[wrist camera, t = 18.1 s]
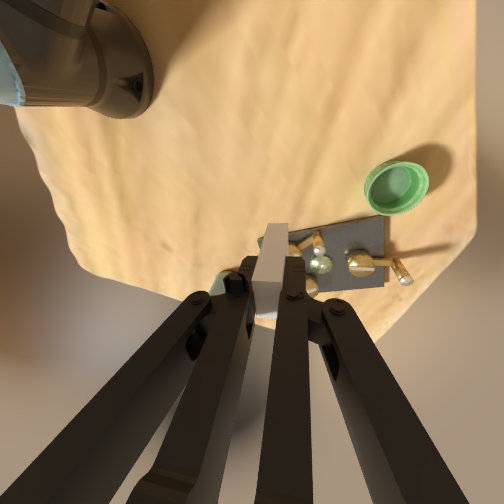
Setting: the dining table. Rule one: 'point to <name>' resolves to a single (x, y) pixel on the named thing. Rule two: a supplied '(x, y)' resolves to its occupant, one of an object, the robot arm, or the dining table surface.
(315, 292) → the knob
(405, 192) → the ramekin
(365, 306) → the dining table surface
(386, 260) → the knob
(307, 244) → the knob
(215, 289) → the bottle
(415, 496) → the robot arm
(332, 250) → the control panel
